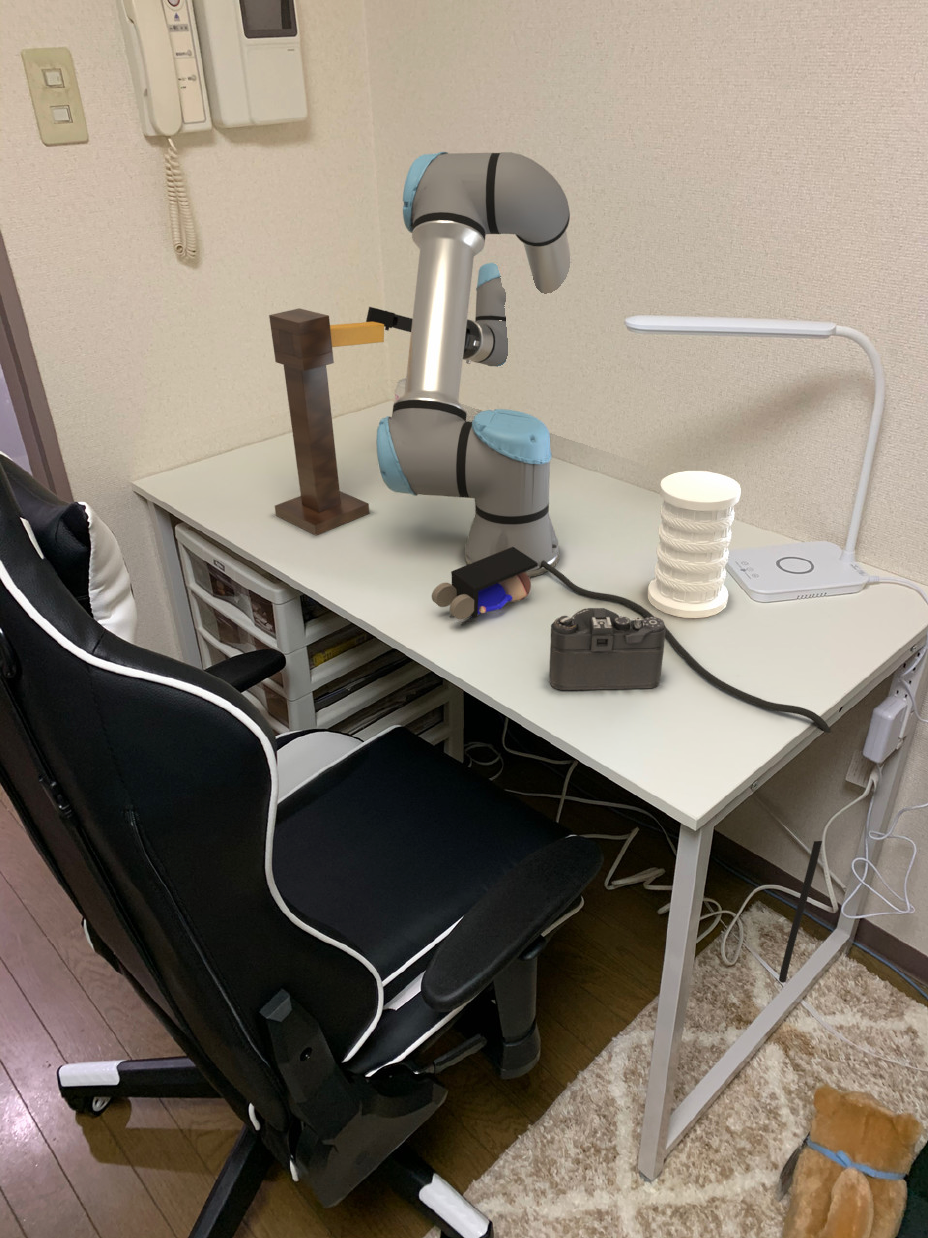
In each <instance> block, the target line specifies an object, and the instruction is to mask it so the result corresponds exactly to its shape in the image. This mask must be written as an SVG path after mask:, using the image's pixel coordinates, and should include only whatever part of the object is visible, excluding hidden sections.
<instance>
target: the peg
mask: <svg viewBox="0 0 928 1238" xmlns="http://www.w3.org/2000/svg"><path fill="white" fill-rule="evenodd" d="M330 330H331V340H332V348H339V347H349V346H358V345H359V346H360V345H369V344H378V343H385V327H384V324H381V323H377V322H366V321H364V322H352V323H351V322H350V323H339V324H330Z"/></svg>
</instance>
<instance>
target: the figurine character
mask: <svg viewBox="0 0 928 1238" xmlns="http://www.w3.org/2000/svg"><path fill="white" fill-rule="evenodd" d="M537 566H538V563H537V562H535V561H534V560H532V559H531V558H529V557H528V556H527V555H525V554H524V553H522V552H521V551H519V550H518V549H516V548H515V547H511V548H508V549H506V550H503V551H501V552H498V553H496V554H493V555H491V556H488V557H486V558H483V559H481V560H478V561H476V562H473V563H471V564H466V565H464V566H461V567H459V568H458V567H457V568H456V569H454V570H451V572H450V574H451V583H449V582H441V583H440V584H438V585H436V587H435V588H434V589H433V591H432V593H431V601H432V602H433V603H435V605H437V606H438V607H439V608H447V607H449V612H450V614H449V616H448V617H449V618H456V619H457V620H463V621H462V622H461V623H460V626H465V625H468V624H469V623H471V622H474V621H475V620H477V619H479V617H480V614H486V613H488V612H494V611H498V610H502V609H503V607H504V606H505V605H506V604H507V603H509V602H514V603H515V602H520V601H522V600H525V598H527V597H528V595H530V591H531V588H532V582H531V579H530V577H528V575H527V574H526V573H525V571H528V570H530V569H533V568H535V567H537ZM470 616H471V617H470ZM465 619H466V620H465Z"/></svg>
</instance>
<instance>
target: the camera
mask: <svg viewBox="0 0 928 1238" xmlns="http://www.w3.org/2000/svg"><path fill="white" fill-rule="evenodd" d="M666 628H667V626H666V624H665V622H664V620H663V619H661V618H659V617H656V616H654V617H647V618H645V617H644V618H642V617H638V616H636V617H634V619H630V618H629V617H627V616H622V615H621V616H620V615H619V614H617V612H614V611H612V610H609V609H608V608H605V607H588V608H583V609H581V610H578V611H577V612H575V613H574V614H573V615H572V617H571V616H568V615H561V616H560V617H557V618H556V619H555V620H554V621H553V622H552V623H551V624H550V647H549V648H550V649H549V651H550V652H549V671H548V672H549V673H548V677H549V678H548V679H549V684H550V686H551V687H553V689H556V690H561V691H580V690H582V691H585V690H589V691H590V690H592V691H595V690H626V689H628V690H629V689H630V690H634V689H640V690H641V689H653V688H656V687H658V685H660V681H661V676H662V668H663V659H664V650H665V640H666V637H665V631H666Z"/></svg>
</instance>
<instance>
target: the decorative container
mask: <svg viewBox="0 0 928 1238" xmlns="http://www.w3.org/2000/svg"><path fill="white" fill-rule="evenodd" d="M741 491H742V489H741V485H740V483H739V482H737V481H736V480H735V479H733V478H732V477H729V476H728V475H725V474H721V473H718V472H712V471H705V470H686V471H685V470H684V471H679V472H674V473H671V474H669V475H666V476H664V477H663V478H662V479H661V481H660V484H659V495H660V497H661V498H662V500H663V502H662V504H661V507H660V510H659V511H660V518H661V523H660V524H659V527H658V531H657V532H658V538H659V543H658V545H657V547H656V558H657V562H656V564H655V567H654V575H655V577H654V579H651V581H650V582H649V584H648V586H647V599H648V602H649V603H650V604H651V605H652V606H653V607H654V608H656V610H657V611H658V610H659V611H660V612H662V613H665V614H667V615H669V616H670V615H671V616H673V617H679V618H683V619H702V618H703V619H704V618H708V617H713V616H715V615H717V614H719V613H721V612H722V611H724V610H725V608H726V607H727V603H728V600H729V592H728V589H727V588H726V586H725V585H724V583H725V580H726V577H727V576H726V575H727V573H726V572H727V571H726V565H727V563H728V561H729V555H730V554H729V549H728V546H729V545H730V542H731V540H732V535H733V534H732V529H731V527H732V526H731V525H732V524H733V522H734V519H735V509H734V507H735V505H736V504H738V503H739V501H740V498H741V493H742V492H741Z"/></svg>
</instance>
